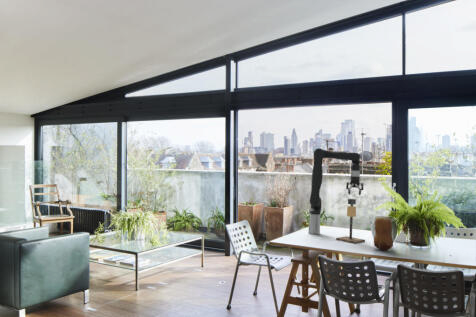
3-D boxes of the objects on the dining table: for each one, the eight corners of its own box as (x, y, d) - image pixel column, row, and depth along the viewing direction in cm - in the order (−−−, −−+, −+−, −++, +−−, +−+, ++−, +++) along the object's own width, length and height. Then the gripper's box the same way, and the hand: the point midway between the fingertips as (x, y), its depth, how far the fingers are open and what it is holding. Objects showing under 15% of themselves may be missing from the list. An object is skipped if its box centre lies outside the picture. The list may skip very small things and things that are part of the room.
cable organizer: (413, 241, 348) (414, 227, 348) (411, 243, 339) (411, 229, 339) (395, 239, 356) (395, 225, 356) (392, 241, 347) (392, 227, 347)
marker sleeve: (346, 216, 344) (347, 206, 344) (350, 215, 347) (350, 206, 347) (352, 216, 340) (352, 207, 340) (355, 216, 343) (356, 206, 343)
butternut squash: (384, 247, 320) (385, 215, 320) (396, 251, 307) (397, 217, 307) (369, 248, 315) (370, 215, 315) (381, 252, 302) (382, 218, 302)
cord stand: (336, 239, 346) (337, 198, 346) (346, 238, 355) (347, 197, 355) (355, 243, 332) (356, 200, 332) (365, 241, 341) (366, 199, 341)
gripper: (345, 175, 363) (345, 194, 363) (362, 176, 356) (361, 195, 357) (348, 175, 370) (347, 193, 370) (364, 176, 363) (363, 195, 363)
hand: (354, 194), depth 363 cm, fingers open, 8 cm apart
